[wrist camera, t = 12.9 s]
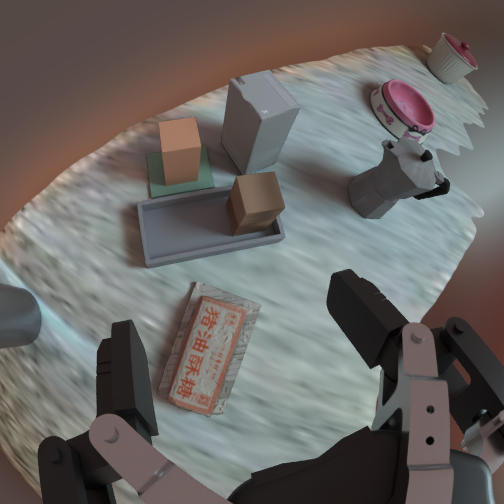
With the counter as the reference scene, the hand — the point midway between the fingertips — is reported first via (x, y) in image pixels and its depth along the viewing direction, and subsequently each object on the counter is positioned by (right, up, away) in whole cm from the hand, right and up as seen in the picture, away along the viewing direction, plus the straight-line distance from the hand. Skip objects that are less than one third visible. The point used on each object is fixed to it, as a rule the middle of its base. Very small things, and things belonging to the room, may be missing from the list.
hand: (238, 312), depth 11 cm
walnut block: (-1, +7, +33) cm, 34 cm away
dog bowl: (+38, +37, +50) cm, 73 cm away
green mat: (-11, +15, +33) cm, 38 cm away
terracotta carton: (-11, +15, +33) cm, 38 cm away
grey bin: (-6, +6, +32) cm, 33 cm away
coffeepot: (+23, +12, +41) cm, 48 cm away
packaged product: (-6, -12, +29) cm, 32 cm away
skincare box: (-1, +19, +37) cm, 41 cm away
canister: (+72, +72, +65) cm, 121 cm away
